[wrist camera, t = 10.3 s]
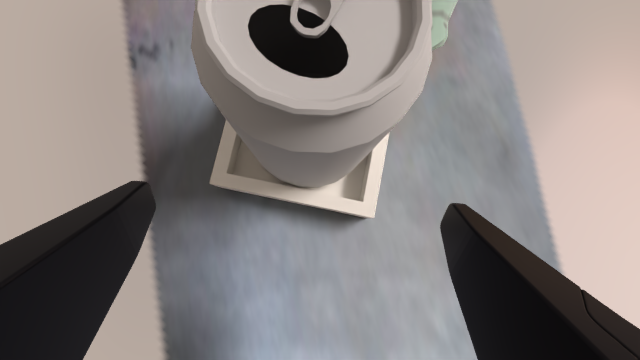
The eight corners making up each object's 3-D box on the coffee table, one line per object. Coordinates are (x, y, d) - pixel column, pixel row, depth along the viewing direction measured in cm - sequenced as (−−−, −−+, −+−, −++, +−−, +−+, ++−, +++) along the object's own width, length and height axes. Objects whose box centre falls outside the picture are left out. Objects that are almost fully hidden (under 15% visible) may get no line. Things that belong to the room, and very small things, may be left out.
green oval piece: (355, -8, 21) (378, -111, 15) (408, -19, 22) (454, -124, 15) (386, 94, 20) (425, 33, 14) (440, 81, 21) (505, 15, 14)
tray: (366, 218, 19) (374, 218, 17) (219, 187, 19) (209, 183, 17) (391, 80, 21) (401, 65, 19) (254, 49, 20) (249, 31, 18)
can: (229, 155, 19) (102, 43, 7) (286, 59, 20) (259, -178, 8) (333, 210, 19) (383, 193, 7) (384, 111, 20) (505, -52, 8)
